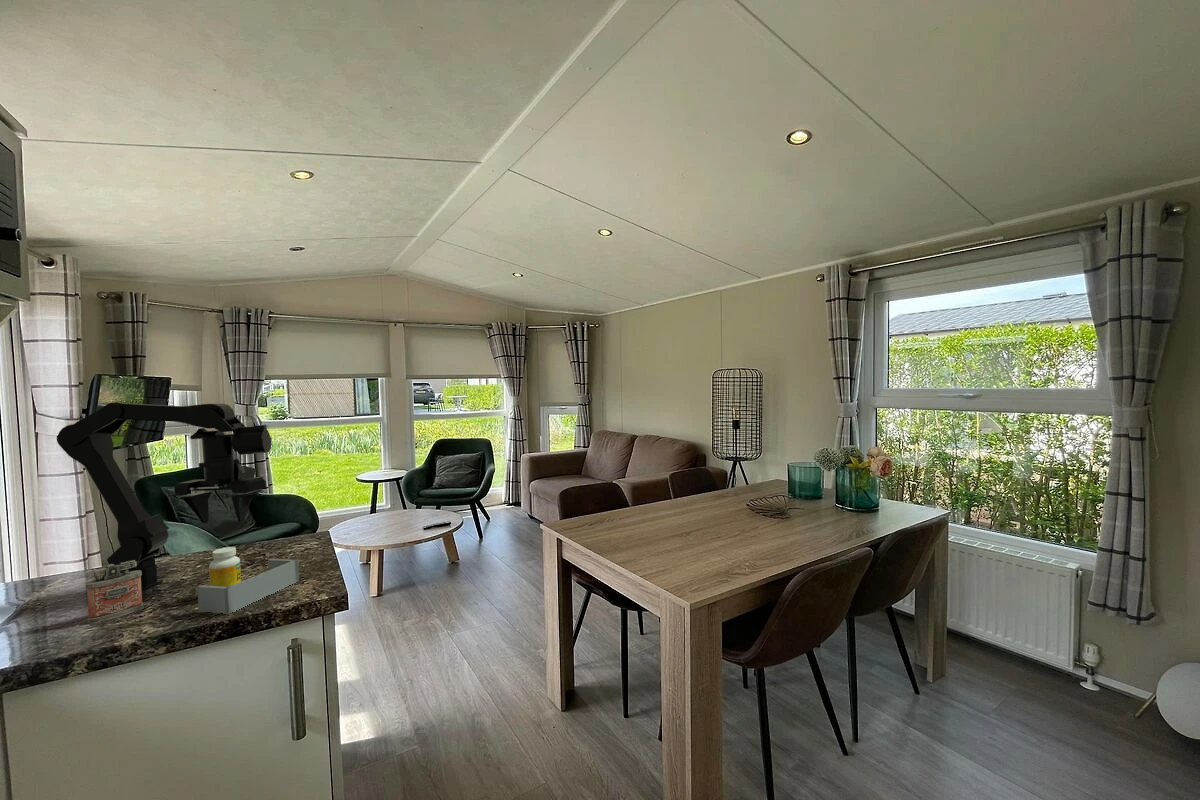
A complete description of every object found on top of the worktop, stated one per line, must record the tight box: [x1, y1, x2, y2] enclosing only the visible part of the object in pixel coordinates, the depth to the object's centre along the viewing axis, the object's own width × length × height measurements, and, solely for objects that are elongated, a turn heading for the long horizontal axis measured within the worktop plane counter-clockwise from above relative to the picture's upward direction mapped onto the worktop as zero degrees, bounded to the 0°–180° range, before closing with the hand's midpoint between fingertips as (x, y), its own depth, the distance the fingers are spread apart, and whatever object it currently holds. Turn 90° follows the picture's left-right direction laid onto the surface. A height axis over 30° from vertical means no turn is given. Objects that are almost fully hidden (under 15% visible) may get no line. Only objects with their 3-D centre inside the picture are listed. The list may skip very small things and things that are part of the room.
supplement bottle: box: [208, 546, 242, 587], centre depth 106 cm, size 5×5×10 cm
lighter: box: [85, 560, 144, 624], centre depth 98 cm, size 8×3×10 cm, turn 148°
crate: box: [197, 558, 300, 615], centre depth 105 cm, size 7×17×5 cm, turn 167°
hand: (223, 522), depth 116 cm, fingers open, 9 cm apart
